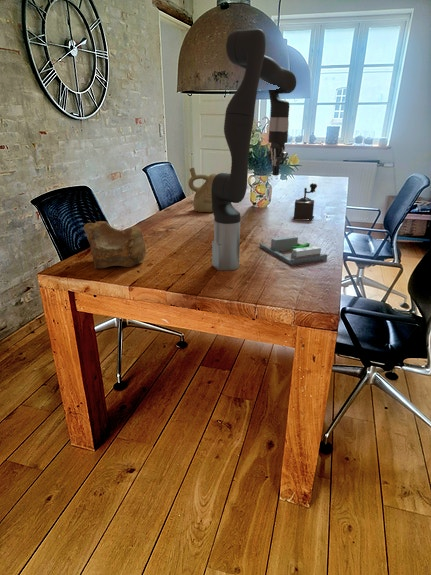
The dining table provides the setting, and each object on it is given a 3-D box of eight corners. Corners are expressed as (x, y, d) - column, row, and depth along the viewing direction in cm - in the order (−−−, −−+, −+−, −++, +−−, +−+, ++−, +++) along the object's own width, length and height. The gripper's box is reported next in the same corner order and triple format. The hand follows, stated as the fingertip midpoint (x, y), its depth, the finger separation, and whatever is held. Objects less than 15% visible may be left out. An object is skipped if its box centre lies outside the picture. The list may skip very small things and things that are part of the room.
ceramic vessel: (224, 212, 222) (225, 168, 212) (191, 214, 218) (190, 169, 208) (217, 207, 238) (217, 165, 227) (186, 208, 233) (185, 166, 223)
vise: (292, 265, 141) (293, 253, 139) (259, 247, 162) (260, 235, 160) (326, 260, 147) (328, 248, 145) (291, 243, 168) (292, 232, 166)
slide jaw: (274, 251, 156) (275, 240, 154) (270, 249, 159) (271, 238, 157) (296, 248, 160) (297, 237, 158) (292, 246, 163) (293, 235, 161)
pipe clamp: (300, 252, 157) (301, 241, 155) (308, 254, 155) (309, 243, 153) (287, 259, 149) (288, 248, 147) (296, 261, 147) (297, 249, 145)
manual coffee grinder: (313, 220, 206) (317, 187, 199) (293, 219, 209) (296, 186, 201) (313, 214, 220) (317, 182, 213) (294, 213, 222) (297, 182, 215)
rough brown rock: (71, 271, 137) (64, 232, 130) (94, 253, 151) (89, 217, 144) (131, 279, 133) (127, 239, 125) (149, 260, 147) (146, 223, 140)
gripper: (262, 129, 154) (259, 173, 161) (279, 130, 143) (276, 177, 150) (277, 129, 157) (274, 173, 164) (296, 130, 145) (292, 177, 152)
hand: (275, 175), depth 157 cm, fingers closed
